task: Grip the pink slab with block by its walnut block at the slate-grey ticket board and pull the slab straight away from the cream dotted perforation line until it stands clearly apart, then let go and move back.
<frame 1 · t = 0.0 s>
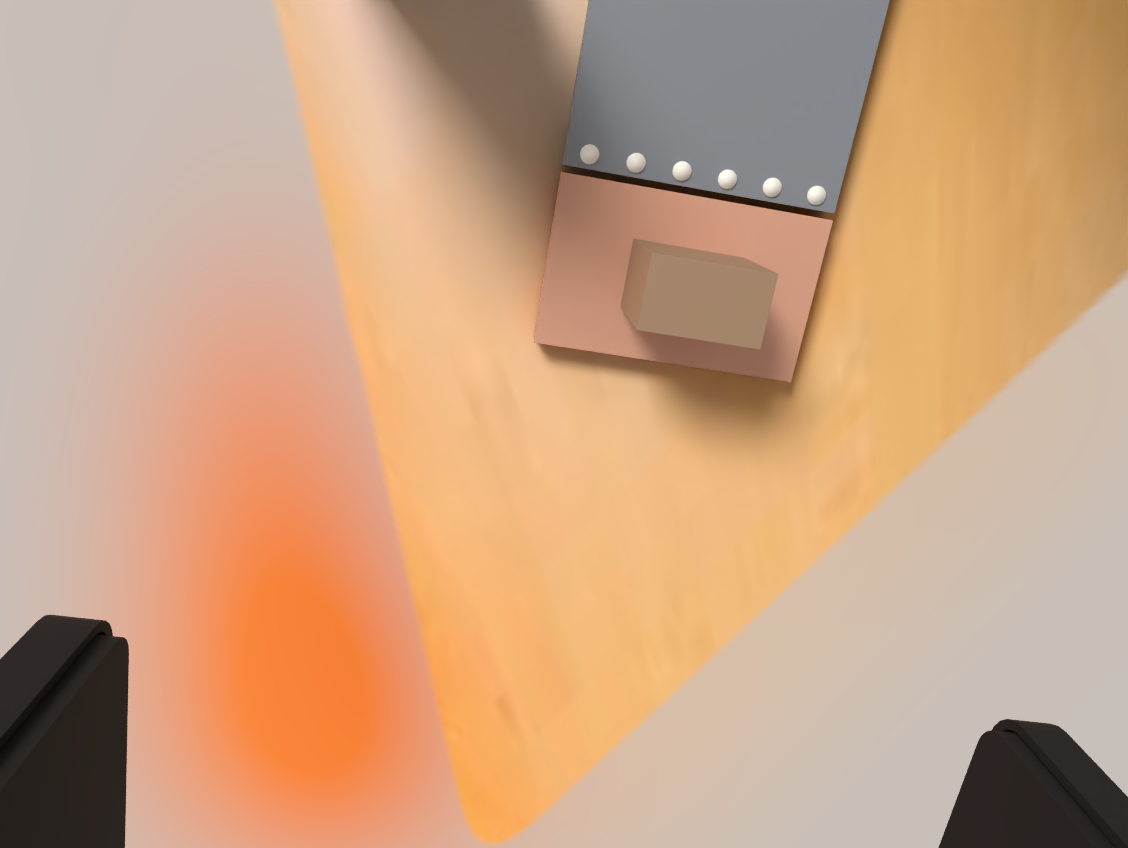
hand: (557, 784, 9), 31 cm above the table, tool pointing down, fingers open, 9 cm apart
ticket: (726, 42, 36), on the table
pink slab with block: (691, 289, 36), point 3 cm above the table, slide at 0.0 cm
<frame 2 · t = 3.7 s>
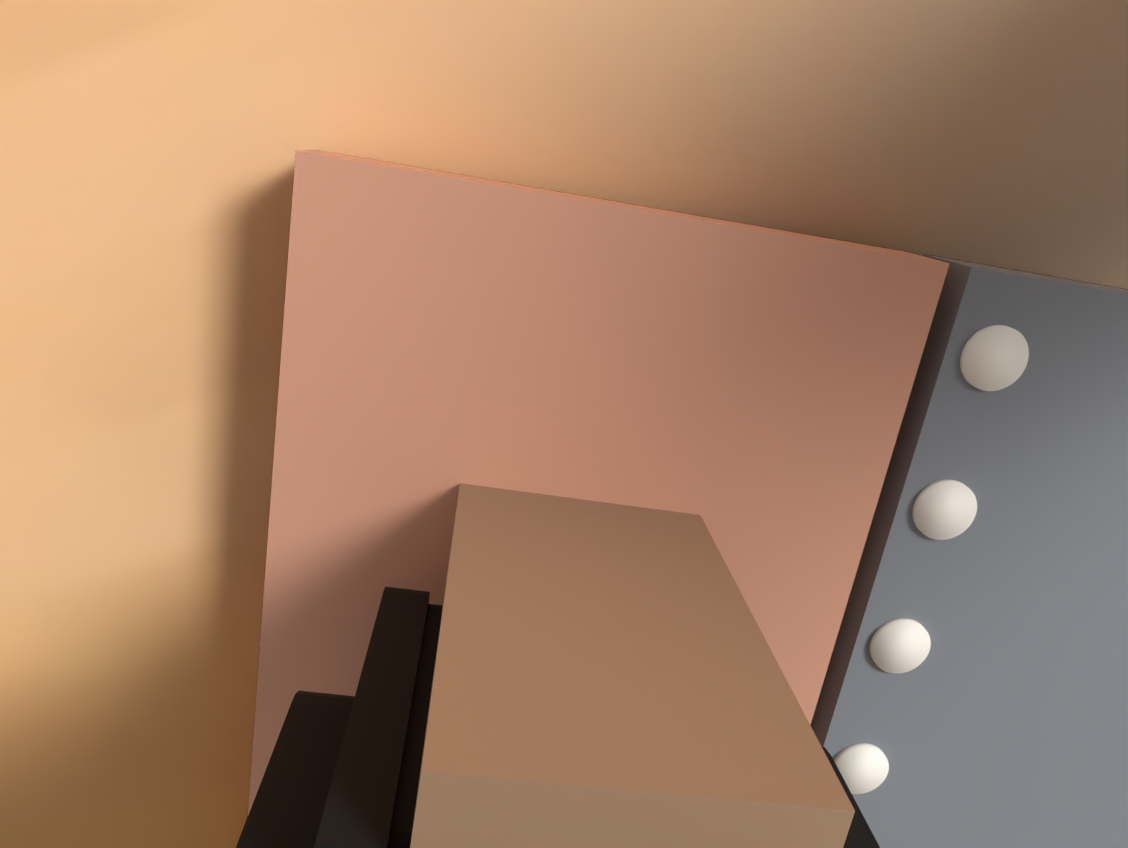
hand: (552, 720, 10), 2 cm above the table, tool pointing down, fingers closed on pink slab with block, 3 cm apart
pink slab with block: (557, 777, 9), point 3 cm above the table, slide at 0.0 cm, touching gripper
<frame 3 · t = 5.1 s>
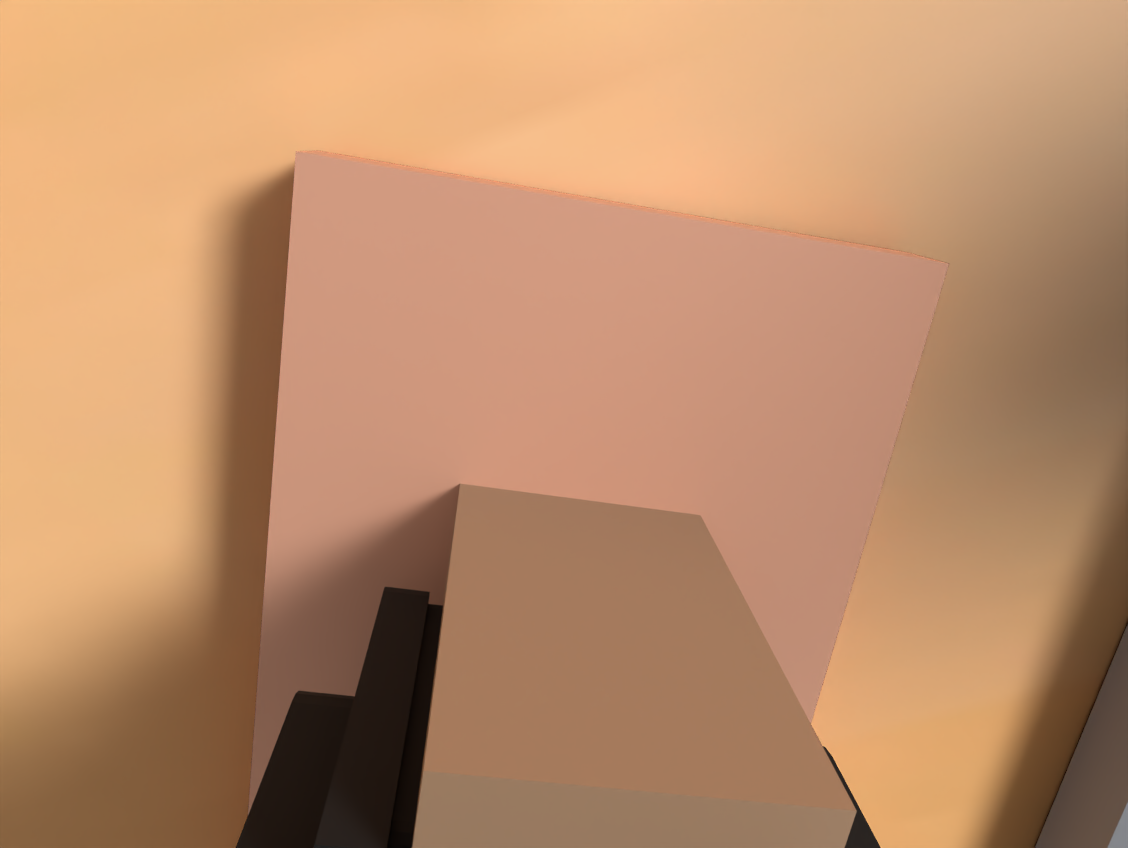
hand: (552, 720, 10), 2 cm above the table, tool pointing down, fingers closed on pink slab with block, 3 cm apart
pink slab with block: (558, 778, 9), point 3 cm above the table, slide at 4.9 cm, touching gripper
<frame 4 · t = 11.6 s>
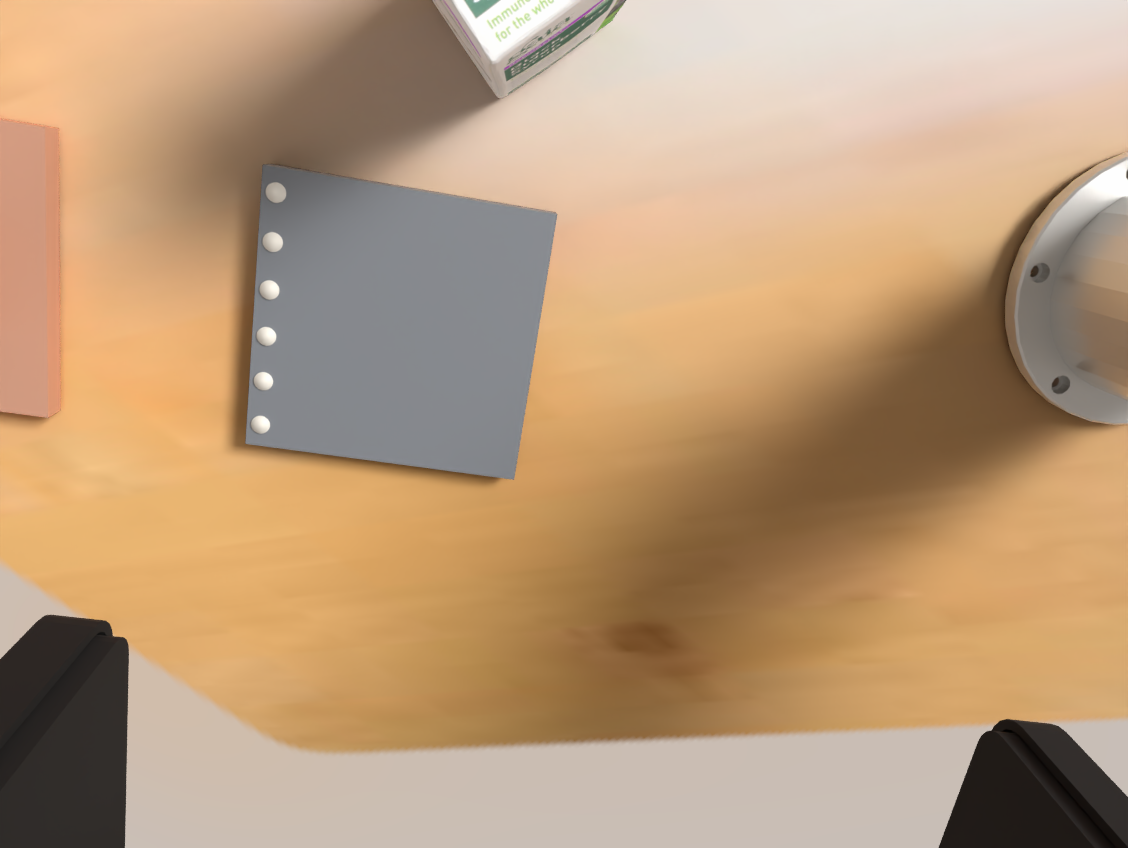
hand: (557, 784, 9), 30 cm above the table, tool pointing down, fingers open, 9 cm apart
ticket: (399, 326, 38), on the table
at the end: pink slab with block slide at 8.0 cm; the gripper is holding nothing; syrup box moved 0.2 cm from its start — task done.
